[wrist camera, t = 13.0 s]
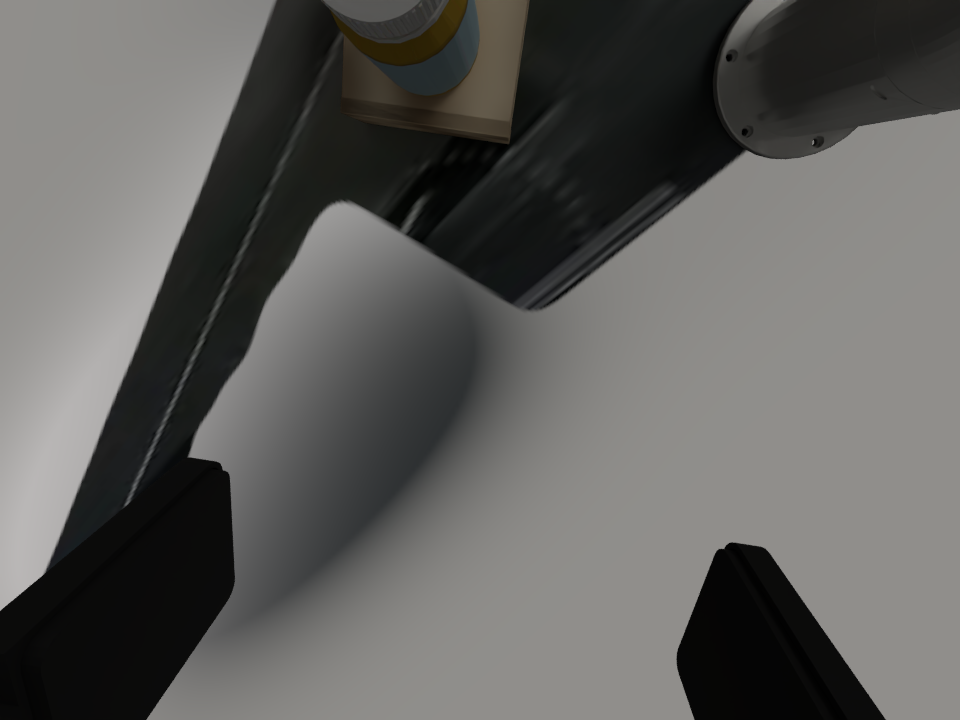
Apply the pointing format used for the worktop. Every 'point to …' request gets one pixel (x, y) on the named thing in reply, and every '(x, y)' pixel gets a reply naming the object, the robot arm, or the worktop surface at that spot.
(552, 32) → the worktop surface
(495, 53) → the chopping block
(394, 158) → the worktop surface
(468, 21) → the bottle
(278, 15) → the worktop surface
